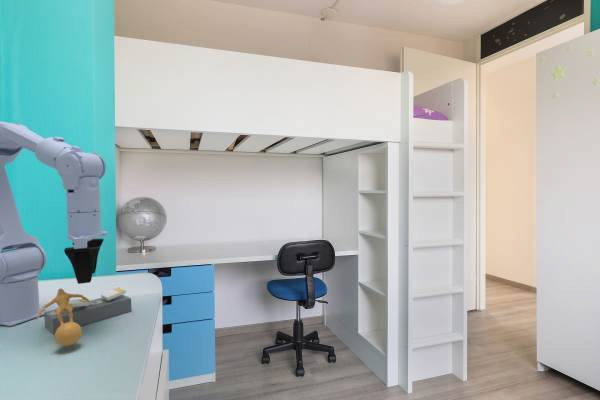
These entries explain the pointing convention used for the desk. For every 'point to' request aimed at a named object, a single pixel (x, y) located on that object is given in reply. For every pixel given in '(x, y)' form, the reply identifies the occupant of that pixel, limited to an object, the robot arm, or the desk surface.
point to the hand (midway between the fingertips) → (87, 278)
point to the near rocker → (79, 303)
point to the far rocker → (113, 294)
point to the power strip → (90, 312)
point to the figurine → (66, 331)
